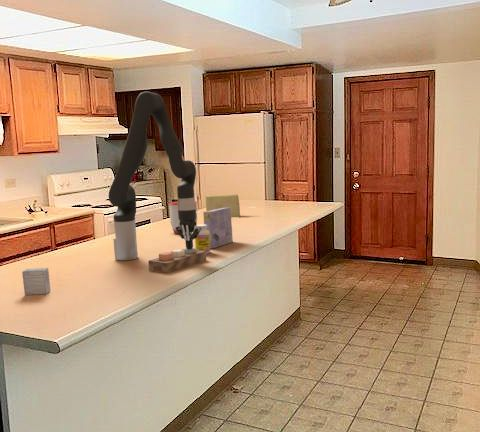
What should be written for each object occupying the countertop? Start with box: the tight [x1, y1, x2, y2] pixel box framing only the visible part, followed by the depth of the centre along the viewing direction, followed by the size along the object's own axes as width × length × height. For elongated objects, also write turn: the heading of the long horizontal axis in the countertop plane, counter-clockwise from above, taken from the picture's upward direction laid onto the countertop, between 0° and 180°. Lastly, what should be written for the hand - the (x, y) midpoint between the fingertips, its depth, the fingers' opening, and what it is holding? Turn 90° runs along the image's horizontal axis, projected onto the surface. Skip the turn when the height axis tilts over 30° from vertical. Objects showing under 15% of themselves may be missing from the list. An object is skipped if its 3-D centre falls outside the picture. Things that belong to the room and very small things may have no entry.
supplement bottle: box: [194, 223, 211, 254], centre depth 246 cm, size 7×7×13 cm
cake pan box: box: [202, 207, 234, 249], centre depth 262 cm, size 19×5×18 cm, turn 149°
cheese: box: [205, 193, 241, 218], centre depth 354 cm, size 22×10×15 cm, turn 67°
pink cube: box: [158, 251, 173, 261], centre depth 219 cm, size 4×4×4 cm
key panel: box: [147, 250, 207, 274], centre depth 224 cm, size 24×10×4 cm, turn 143°
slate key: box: [181, 247, 196, 254], centre depth 230 cm, size 4×4×4 cm
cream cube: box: [170, 249, 185, 258], centre depth 224 cm, size 4×4×4 cm
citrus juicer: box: [168, 200, 199, 235], centre depth 301 cm, size 16×17×20 cm
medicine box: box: [21, 267, 51, 296], centre depth 192 cm, size 8×4×9 cm, turn 92°
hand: (189, 248), depth 229 cm, fingers closed
